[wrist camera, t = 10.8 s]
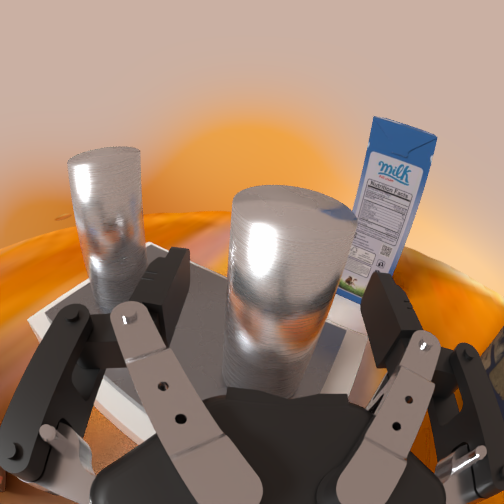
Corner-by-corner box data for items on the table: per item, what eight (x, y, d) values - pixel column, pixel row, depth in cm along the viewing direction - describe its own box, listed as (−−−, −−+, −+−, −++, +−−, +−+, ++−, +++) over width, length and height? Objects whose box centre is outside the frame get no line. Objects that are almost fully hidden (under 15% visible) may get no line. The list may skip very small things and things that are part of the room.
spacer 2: (206, 380, 16) (206, 208, 10) (247, 331, 20) (267, 177, 14) (280, 418, 14) (342, 256, 8) (312, 360, 18) (365, 207, 12)
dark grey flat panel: (48, 321, 19) (44, 312, 18) (151, 252, 29) (150, 244, 28) (267, 486, 11) (270, 483, 11) (342, 338, 21) (346, 330, 21)
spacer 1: (82, 291, 21) (55, 161, 15) (124, 264, 25) (112, 144, 19) (118, 319, 19) (91, 171, 13) (162, 286, 23) (155, 151, 17)
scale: (43, 349, 20) (27, 319, 18) (155, 268, 33) (152, 239, 31) (274, 524, 12) (287, 521, 10) (353, 360, 24) (369, 331, 22)
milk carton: (375, 311, 30) (437, 137, 20) (328, 290, 33) (373, 116, 22) (389, 271, 38) (433, 134, 27) (351, 255, 40) (387, 118, 30)
